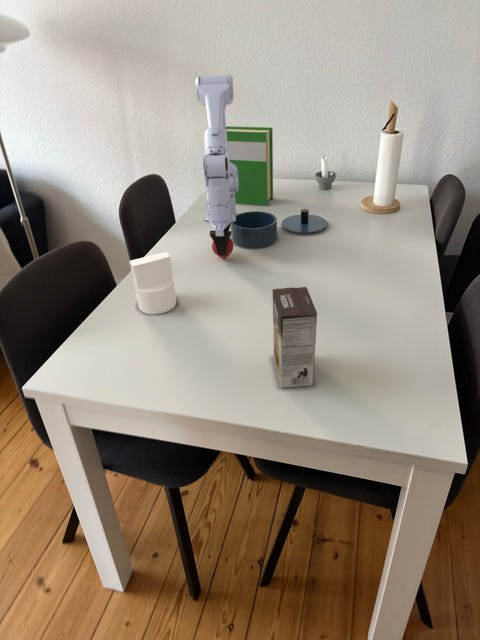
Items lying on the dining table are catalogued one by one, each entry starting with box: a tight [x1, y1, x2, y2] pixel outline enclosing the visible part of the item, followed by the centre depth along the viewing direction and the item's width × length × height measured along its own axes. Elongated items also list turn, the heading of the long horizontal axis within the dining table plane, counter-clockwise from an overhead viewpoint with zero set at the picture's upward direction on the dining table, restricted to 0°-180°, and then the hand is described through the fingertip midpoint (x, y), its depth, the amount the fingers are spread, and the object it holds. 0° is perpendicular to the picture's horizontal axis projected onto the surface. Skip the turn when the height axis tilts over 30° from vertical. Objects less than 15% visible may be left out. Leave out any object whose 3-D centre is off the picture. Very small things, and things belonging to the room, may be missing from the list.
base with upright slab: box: [129, 251, 177, 315], centre depth 110 cm, size 9×9×12 cm
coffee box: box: [271, 286, 318, 389], centre depth 86 cm, size 9×6×16 cm
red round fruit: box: [211, 237, 234, 260], centre depth 129 cm, size 6×6×8 cm
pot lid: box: [280, 208, 329, 235], centre depth 146 cm, size 14×14×5 cm
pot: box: [230, 210, 278, 250], centre depth 140 cm, size 13×13×6 cm
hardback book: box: [226, 125, 274, 207], centre depth 162 cm, size 18×7×24 cm, turn 70°
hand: (222, 249), depth 130 cm, fingers closed on red round fruit, 6 cm apart
